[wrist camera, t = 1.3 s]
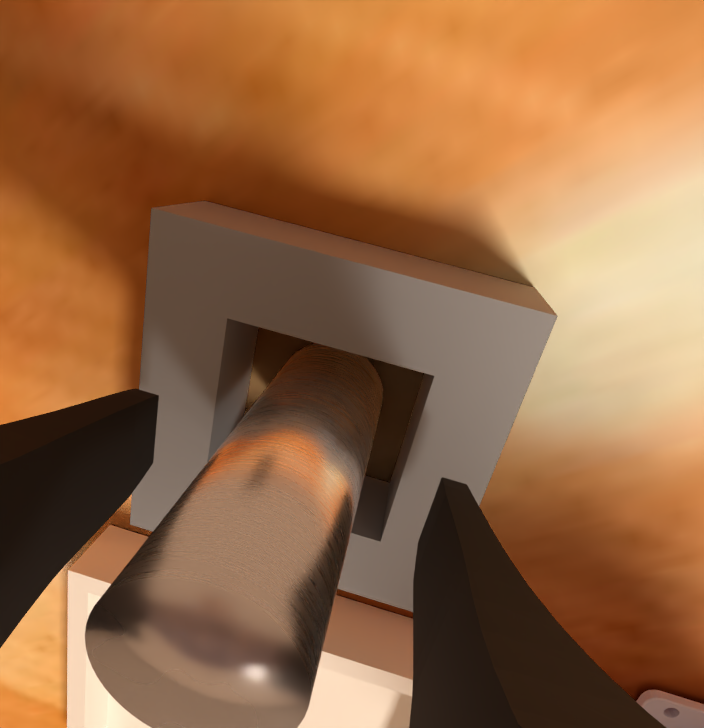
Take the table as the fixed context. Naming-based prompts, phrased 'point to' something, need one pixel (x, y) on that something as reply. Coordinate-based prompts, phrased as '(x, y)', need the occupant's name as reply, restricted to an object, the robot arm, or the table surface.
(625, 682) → the table surface
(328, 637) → the tray
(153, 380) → the socket block
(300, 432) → the pin
